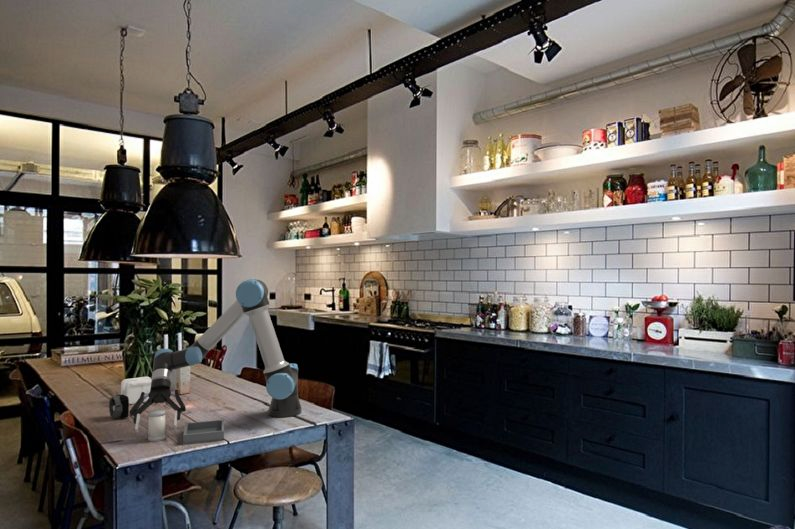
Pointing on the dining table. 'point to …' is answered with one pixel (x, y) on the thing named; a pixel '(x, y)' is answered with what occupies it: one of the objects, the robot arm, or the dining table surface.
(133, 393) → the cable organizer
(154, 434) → the grey lidded jar
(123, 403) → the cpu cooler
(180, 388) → the cracker box
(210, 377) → the dining table surface
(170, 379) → the robot arm
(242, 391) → the dining table surface
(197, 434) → the parts tray
